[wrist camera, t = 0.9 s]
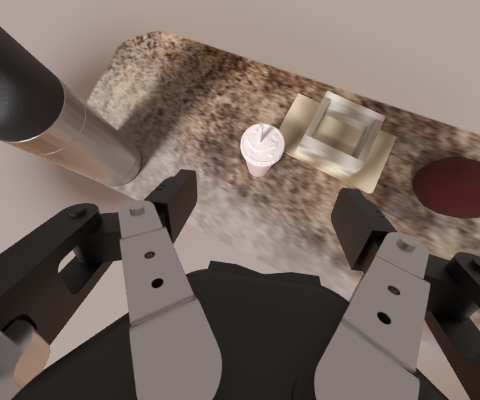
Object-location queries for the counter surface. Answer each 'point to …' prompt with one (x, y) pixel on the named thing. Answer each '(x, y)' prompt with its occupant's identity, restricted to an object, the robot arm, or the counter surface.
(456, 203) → the potato
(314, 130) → the dock
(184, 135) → the counter surface
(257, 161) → the smoothie
